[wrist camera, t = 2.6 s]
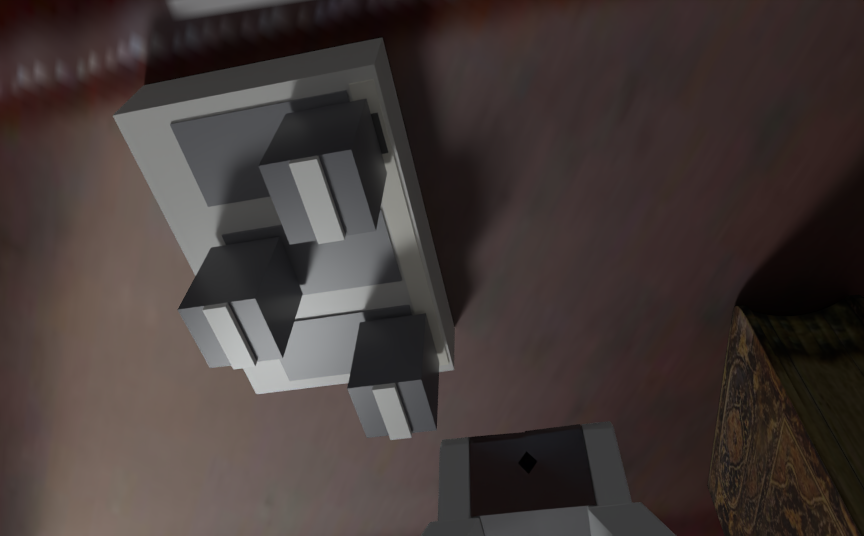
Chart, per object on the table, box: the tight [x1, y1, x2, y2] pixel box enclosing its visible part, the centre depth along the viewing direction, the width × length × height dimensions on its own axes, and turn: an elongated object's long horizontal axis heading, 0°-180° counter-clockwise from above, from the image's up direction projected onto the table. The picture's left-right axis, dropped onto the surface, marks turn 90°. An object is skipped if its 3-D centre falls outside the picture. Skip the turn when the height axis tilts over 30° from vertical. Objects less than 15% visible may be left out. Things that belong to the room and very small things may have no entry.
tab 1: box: [259, 99, 387, 245], centre depth 23 cm, size 3×3×4 cm
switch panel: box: [113, 37, 455, 394], centre depth 29 cm, size 10×15×3 cm, turn 12°
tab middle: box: [178, 237, 303, 369], centre depth 27 cm, size 3×3×4 cm
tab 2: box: [347, 313, 439, 440], centre depth 29 cm, size 3×3×4 cm
